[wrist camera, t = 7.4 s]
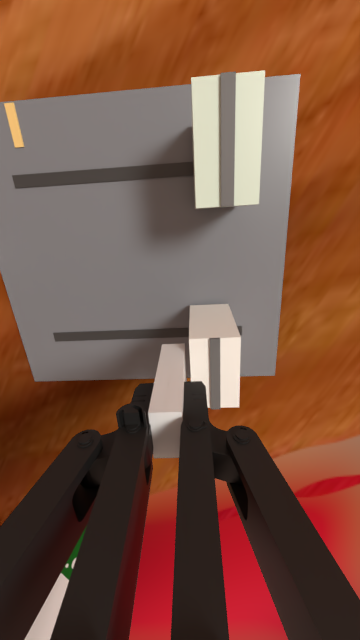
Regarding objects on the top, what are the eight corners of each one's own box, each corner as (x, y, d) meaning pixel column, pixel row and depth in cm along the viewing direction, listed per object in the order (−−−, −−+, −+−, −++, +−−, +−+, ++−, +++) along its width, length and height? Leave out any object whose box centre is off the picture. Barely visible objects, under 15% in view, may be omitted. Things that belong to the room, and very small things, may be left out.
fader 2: (192, 360, 23) (192, 409, 17) (189, 305, 21) (188, 340, 15) (227, 359, 23) (239, 408, 17) (228, 303, 21) (241, 338, 15)
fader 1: (194, 208, 19) (195, 208, 13) (191, 121, 17) (191, 75, 11) (239, 206, 18) (259, 204, 13) (240, 117, 16) (266, 68, 11)
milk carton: (119, 474, 32) (20, 831, 14) (129, 523, 36) (62, 861, 17) (49, 475, 33) (-138, 818, 14) (65, 523, 36) (-67, 850, 18)
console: (45, 369, 27) (34, 382, 25) (-28, 117, 19) (-52, 106, 17) (268, 363, 26) (275, 376, 24) (289, 88, 18) (301, 72, 16)
